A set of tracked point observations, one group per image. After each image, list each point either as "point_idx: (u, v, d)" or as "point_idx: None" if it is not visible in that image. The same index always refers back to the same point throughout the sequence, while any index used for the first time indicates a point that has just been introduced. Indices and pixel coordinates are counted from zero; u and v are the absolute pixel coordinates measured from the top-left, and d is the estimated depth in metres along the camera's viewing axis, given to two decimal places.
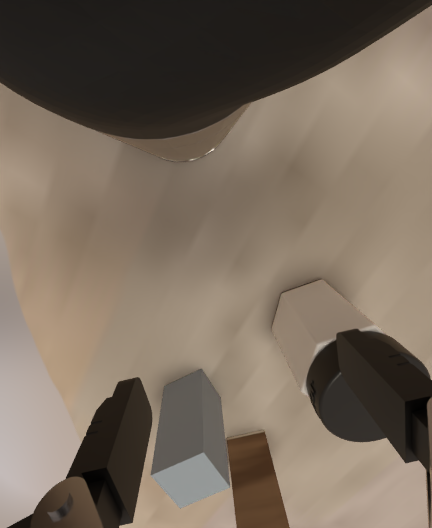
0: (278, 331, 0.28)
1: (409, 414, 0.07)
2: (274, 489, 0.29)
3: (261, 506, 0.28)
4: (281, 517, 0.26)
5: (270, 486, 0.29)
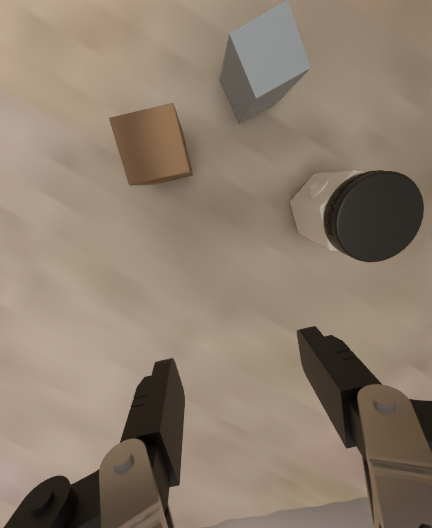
0: None
1: (345, 403, 0.08)
2: None
3: None
4: None
5: (189, 164, 0.27)
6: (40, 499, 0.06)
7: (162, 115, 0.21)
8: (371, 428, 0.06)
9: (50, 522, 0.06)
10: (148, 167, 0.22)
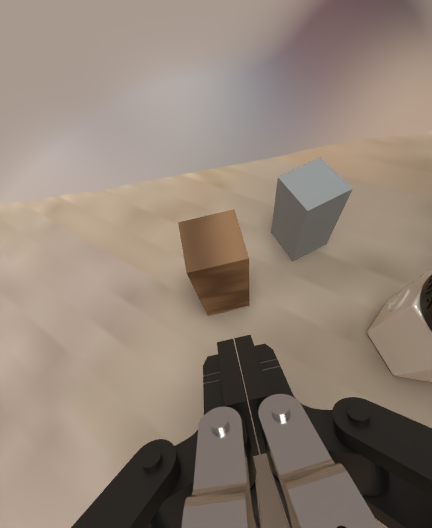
0: None
1: (254, 411, 0.08)
2: None
3: None
4: None
5: None
6: (151, 459, 0.07)
7: (224, 218, 0.23)
8: (276, 443, 0.07)
9: (167, 478, 0.06)
10: (207, 257, 0.22)
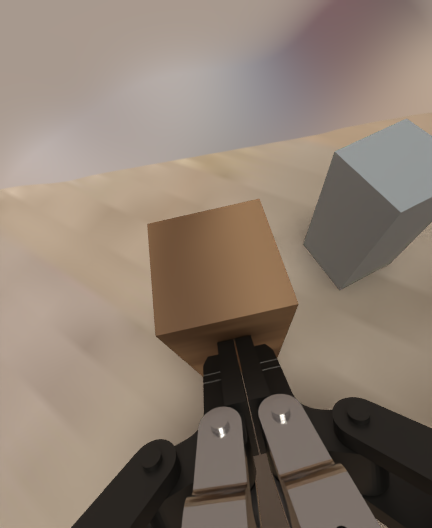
0: None
1: (254, 411, 0.08)
2: None
3: None
4: None
5: None
6: (151, 459, 0.07)
7: (239, 215, 0.11)
8: (276, 443, 0.07)
9: (167, 478, 0.06)
10: (203, 298, 0.10)
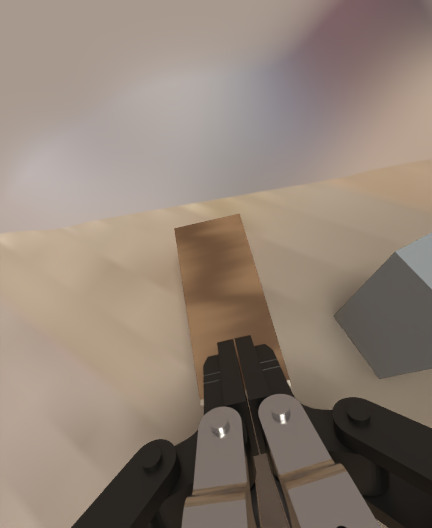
0: None
1: (254, 411, 0.08)
2: None
3: None
4: None
5: None
6: (151, 459, 0.07)
7: None
8: (276, 443, 0.07)
9: (167, 478, 0.06)
10: None
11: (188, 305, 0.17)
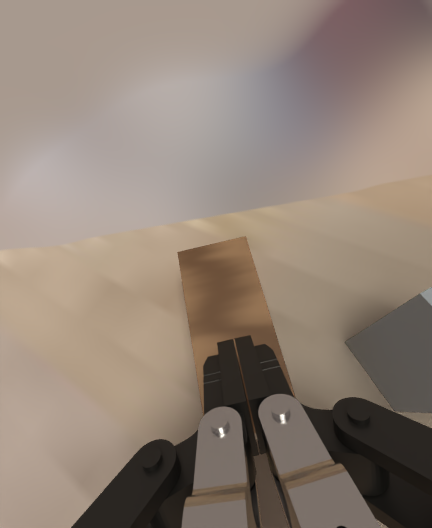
0: None
1: (255, 411, 0.08)
2: None
3: None
4: None
5: None
6: (151, 459, 0.07)
7: None
8: (276, 443, 0.07)
9: (167, 478, 0.06)
10: None
11: (193, 337, 0.16)
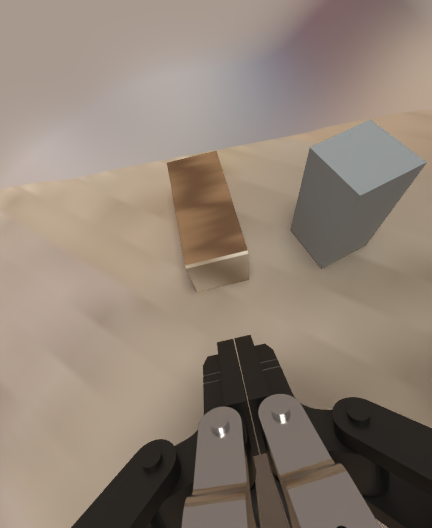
0: None
1: (254, 411, 0.08)
2: None
3: None
4: None
5: None
6: (151, 459, 0.07)
7: None
8: (276, 443, 0.07)
9: (167, 478, 0.06)
10: None
11: (177, 211, 0.24)
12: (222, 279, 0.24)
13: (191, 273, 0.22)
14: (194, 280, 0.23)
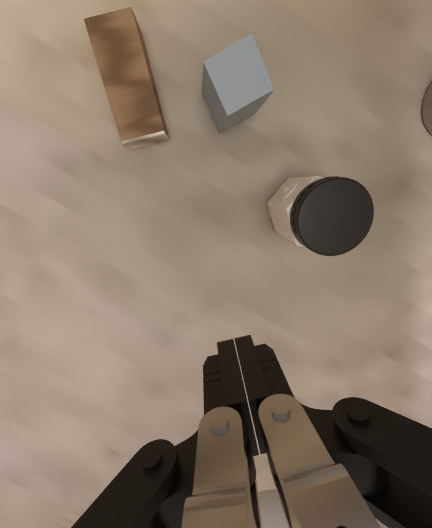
0: None
1: (254, 411, 0.08)
2: (147, 65, 0.29)
3: (146, 59, 0.31)
4: (140, 39, 0.29)
5: (148, 70, 0.30)
6: (151, 459, 0.07)
7: None
8: (276, 443, 0.07)
9: (167, 478, 0.06)
10: None
11: (106, 87, 0.29)
12: (149, 142, 0.34)
13: (126, 144, 0.32)
14: (129, 146, 0.33)
